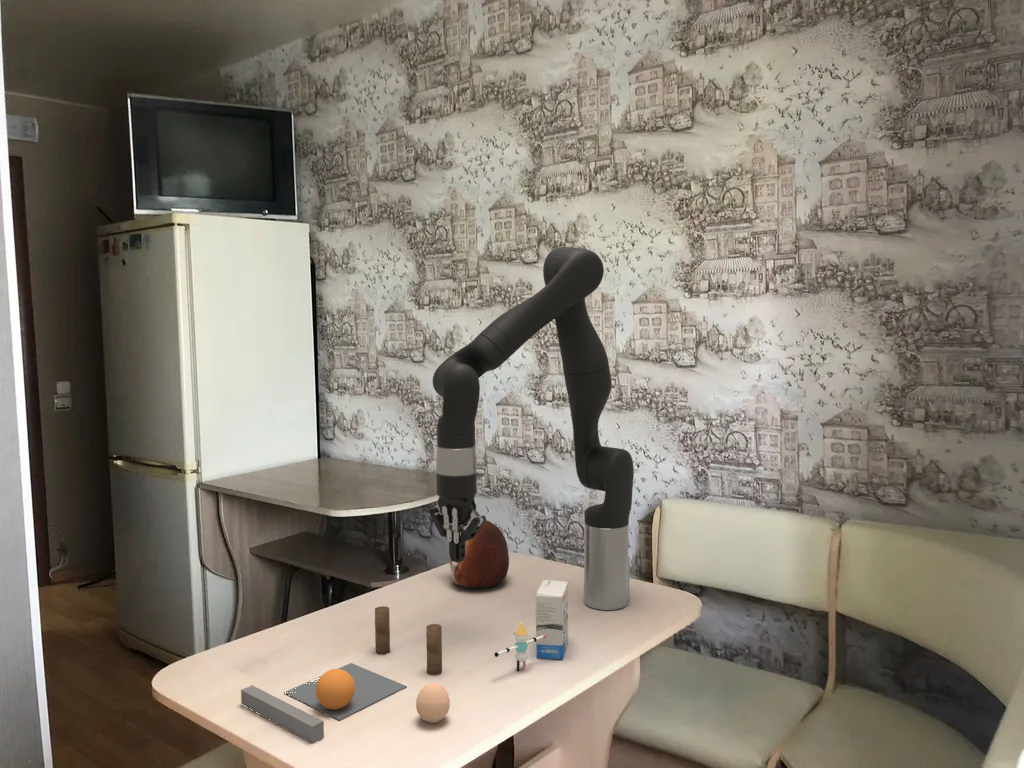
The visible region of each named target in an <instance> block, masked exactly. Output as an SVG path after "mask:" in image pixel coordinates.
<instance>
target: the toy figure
mask: <svg viewBox="0 0 1024 768" xmlns="http://www.w3.org/2000/svg"><path fill="white" fill-rule="evenodd" d="M528 634H529V633H528V631H527V629H526V626H525V624H524V623H523V621H522V620H521V621H520V623H519V624H518V626H517V628H516V630H515V632H514V633H513V636H514V639H515V641H516V642H515V644H514V646H511V647H506V649H504V650H500V651H499V652H496V651H495V652H494V654H493V656H494V657H495V658H498V657H499V656H501V655H503V654H506V653H507V654H508V653H509V652H511V651H513V650H516V651H515V654H514V657H515V660H516V672H520V665H521V664H520V663H522V669H523V670H525V669H526V660H527V659H528V656H529V655H528V651H527V650H528V644H532V643H536V641H537V640H539V639H542V638H546V635H545V634H543V635H542V636H539V637H537V638H536V637H533V638H532V639H529V640H528V638H529V636H528Z"/></svg>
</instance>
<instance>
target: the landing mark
mask: <svg viewBox="0 0 1024 768" xmlns="http://www.w3.org/2000/svg"><path fill="white" fill-rule="evenodd" d="M337 669H342V670H344V671H346V672H348V673H349V674H350V675H351V676H352V678H353V680H354V683H355V693H354V696H353V698H352V700H351V701H350V702H349V703H348V704H347V705H346V706H345V707H343V708H341V709H337V710H331V709H327V708H325V707H324V706H322V705H321V704H320V702H319V701H318V699H317V696H316V686H317V683H318V681H317V680H315V681H317V682H315V681H314V682H310V681H311V680H309V681H307V682H304V683H305V684H304V683H302V684H300V685H298V686H295V687H292V688H291V689H288V690H287V691H284V692H283V694H284V693H285V692H286V694H288V695H290V696H292V697H293V698H292V697H291V698H292V699H294V698H295V699H294V700H296V699H298V700H300V701H301V702H300V701H299V702H300V703H302V702H303V704H304V703H306V704H307V705H306V704H305V705H306V706H308V705H309V707H310V706H311V707H310V708H312V707H314V708H316V709H317V710H316V709H315V710H316V711H318V710H319V712H320V711H321V713H322V712H323V714H324V713H325V715H326V714H327V715H326V716H328V715H329V717H330V716H331V718H333V719H335V720H337V721H338V722H341V721H342V720H344V719H346V718H348V717H350V716H352V715H354V714H356V713H358V712H361V711H362V710H364V709H366V708H368V707H370V706H372V705H374V704H376V703H378V702H380V701H382V700H384V699H387V698H388V697H390V696H392V695H394V694H396V693H398V692H400V691H403V690H404V689H406V688H407V685H406V684H403V683H400V682H398V681H395V680H394V679H391V678H388V677H387V676H384V675H381V674H379V673H376V672H374V671H371V670H369V669H367V668H365V667H362V666H360V665H357V664H355V663H352V662H350V663H347V664H345V665H343V666H340V667H339V668H337ZM321 676H322V675H321ZM321 676H320V675H319V676H318V677H319V678H320V677H321ZM318 680H319V679H318ZM306 683H307V684H306ZM309 683H310V684H309ZM314 683H315V684H314ZM295 688H296V689H295ZM291 690H292V691H291ZM287 692H288V693H287ZM290 692H291V693H290ZM292 692H293V693H292ZM295 692H296V693H295ZM286 694H285V695H286ZM288 695H287V696H288ZM290 696H289V697H290ZM298 700H297V701H298ZM314 708H313V709H314Z"/></svg>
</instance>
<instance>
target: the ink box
mask: <svg viewBox="0 0 1024 768" xmlns="http://www.w3.org/2000/svg"><path fill="white" fill-rule="evenodd" d="M568 589H569V582H568V581H563V580H553V579H551V580H550V579H544V580H542V581H541V584H540V586H539V587H538V589H537V591H536V592H535V593H536V595H535V624H536V625H535V632H536V634H535V635H536V637H535V638H537V637H539V636H542V635H543V634H545V635H546V638H542V639H539V640H537V641H536V642H535V643H536V645H535V646H536V658H537V659H551V660H563V659H564V656H565V652H566V648H567V646H568V643H569V638H568V637H569V631H568V630H569V629H568V628H569V623H568V621H569V617H568V615H569V613H568V610H569V608H568V607H569V606H568V605H569V603H568V602H569V601H568V599H569V598H568V597H569V595H568V594H569V590H568Z"/></svg>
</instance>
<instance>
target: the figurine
mask: <svg viewBox="0 0 1024 768" xmlns="http://www.w3.org/2000/svg"><path fill="white" fill-rule="evenodd" d="M443 527H444V525H443ZM444 529H445V528H444ZM460 535H461V532H460ZM509 554H510V553H509V548H508V543H507V541H506V537H505V535H504V533H503V532H502V531H501V529H500V527H498V526H497V525H496V524H494V523H493V522H491V521H490V520H487V519H486V521H485V523H484V524H483V525H482V527H481V528H480V530H479V531H478V533H477V534H476V536H475V537H474V538H473V539H471V540H468V541H466V542H465V558H464V560H463V561H461V562H458V563H457V562H453V561H451V558H450V557H449V566H450V571H451V572H450V573H451V575H450V579H451V582H452V583H454V584H456V585H458V586H460V587H464V588H467V589H471V590H478V589H479V590H480V589H484V588H493V587H498V586H500V585H501V584H502V583H503V582H504V579H506V577H507V576H508V571H509V569H510V568H509V567H510V556H509Z"/></svg>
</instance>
